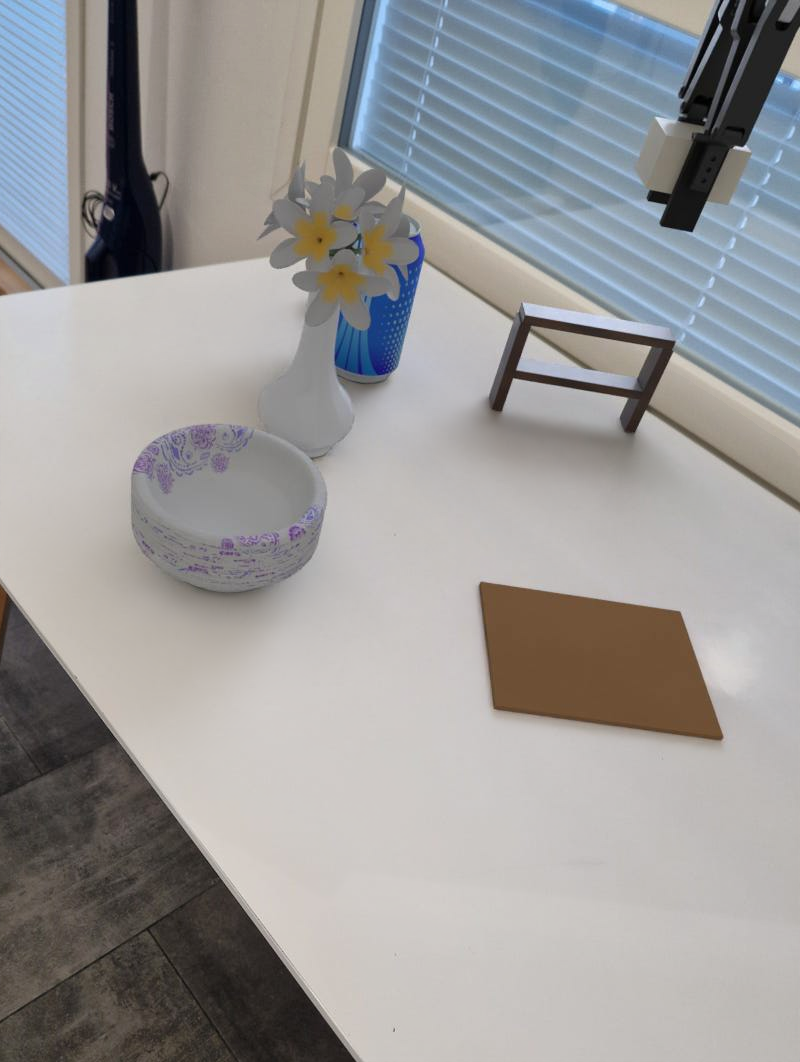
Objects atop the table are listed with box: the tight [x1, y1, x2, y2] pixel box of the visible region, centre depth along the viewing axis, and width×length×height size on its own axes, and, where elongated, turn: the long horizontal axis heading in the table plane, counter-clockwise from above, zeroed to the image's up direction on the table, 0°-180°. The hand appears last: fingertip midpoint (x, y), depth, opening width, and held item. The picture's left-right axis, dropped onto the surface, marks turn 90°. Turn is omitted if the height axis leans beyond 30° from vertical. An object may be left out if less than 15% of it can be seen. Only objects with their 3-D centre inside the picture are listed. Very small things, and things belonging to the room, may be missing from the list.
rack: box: [488, 301, 677, 434], centre depth 96 cm, size 16×3×11 cm, turn 87°
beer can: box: [335, 212, 426, 384], centre depth 94 cm, size 8×8×16 cm
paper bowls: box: [130, 423, 328, 593], centre depth 72 cm, size 15×15×8 cm
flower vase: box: [255, 147, 419, 459], centre depth 79 cm, size 13×18×25 cm
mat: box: [479, 581, 724, 741], centre depth 73 cm, size 18×14×1 cm
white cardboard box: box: [634, 116, 753, 206], centre depth 73 cm, size 7×5×4 cm
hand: (668, 214), depth 76 cm, fingers closed on white cardboard box, 5 cm apart
